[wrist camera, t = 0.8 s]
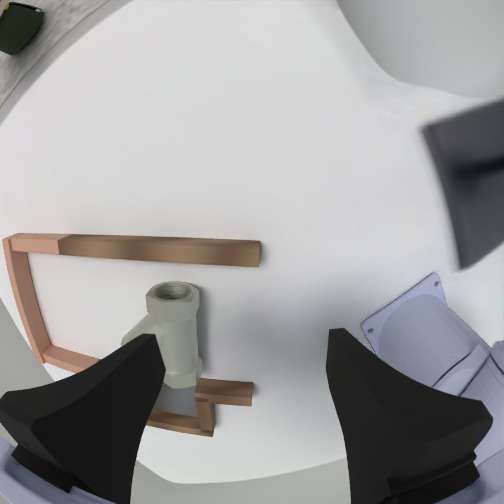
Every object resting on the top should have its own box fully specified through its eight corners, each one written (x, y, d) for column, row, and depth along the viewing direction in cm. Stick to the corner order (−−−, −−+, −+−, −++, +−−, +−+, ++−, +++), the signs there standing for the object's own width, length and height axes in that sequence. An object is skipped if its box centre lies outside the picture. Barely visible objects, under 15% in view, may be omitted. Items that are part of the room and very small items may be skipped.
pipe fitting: (138, 350, 23) (205, 364, 22) (119, 374, 19) (193, 394, 19) (126, 272, 21) (202, 283, 20) (100, 291, 17) (185, 307, 16)
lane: (259, 240, 19) (259, 248, 17) (250, 426, 25) (249, 440, 23) (71, 234, 19) (57, 240, 17) (115, 403, 25) (109, 414, 23)
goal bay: (71, 234, 19) (54, 241, 17) (101, 367, 23) (91, 381, 21) (17, 233, 20) (2, 239, 17) (48, 350, 24) (37, 361, 21)
